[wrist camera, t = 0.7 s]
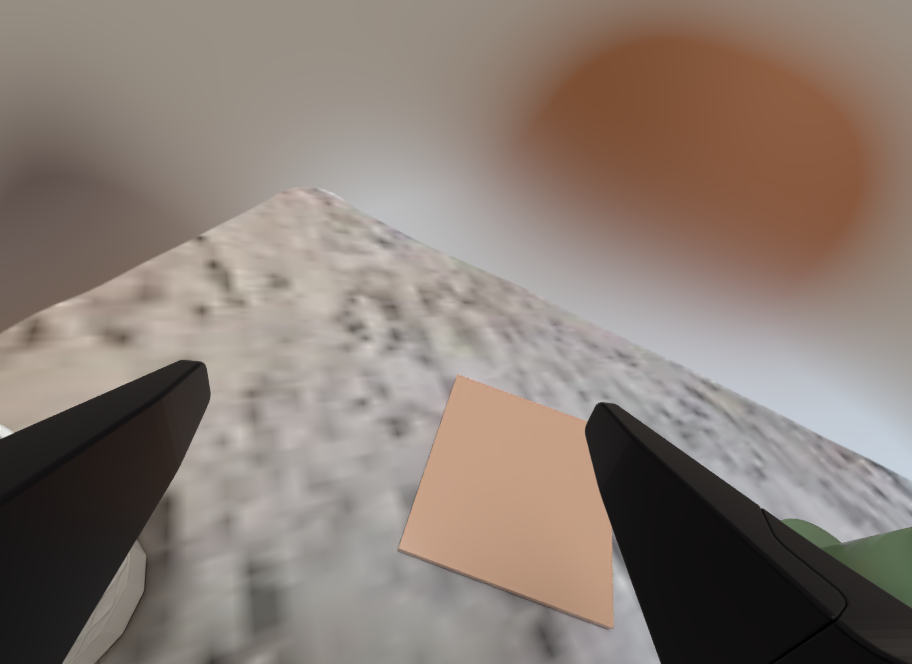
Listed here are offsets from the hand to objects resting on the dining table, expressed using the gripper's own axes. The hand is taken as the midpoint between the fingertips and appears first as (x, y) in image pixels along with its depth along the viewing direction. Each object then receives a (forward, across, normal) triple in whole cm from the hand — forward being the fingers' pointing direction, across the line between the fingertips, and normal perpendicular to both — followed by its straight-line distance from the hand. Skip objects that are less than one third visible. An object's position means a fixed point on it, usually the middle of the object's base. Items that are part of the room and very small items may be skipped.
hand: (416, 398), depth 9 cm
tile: (+8, -9, +14) cm, 18 cm away
